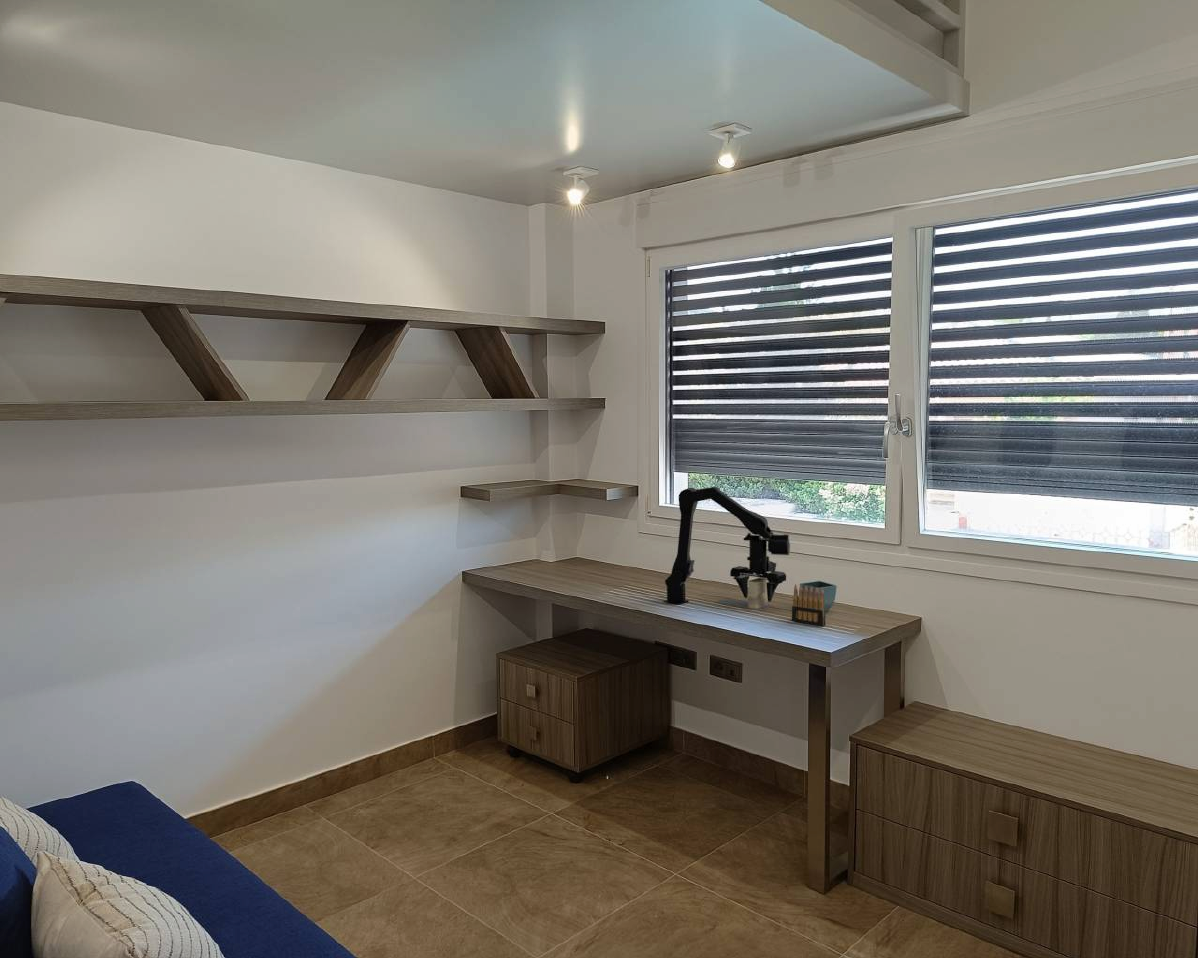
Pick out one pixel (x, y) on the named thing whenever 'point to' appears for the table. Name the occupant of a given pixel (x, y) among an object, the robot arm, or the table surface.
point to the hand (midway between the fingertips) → (757, 599)
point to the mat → (741, 603)
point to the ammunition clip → (808, 607)
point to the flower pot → (827, 589)
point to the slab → (757, 593)
